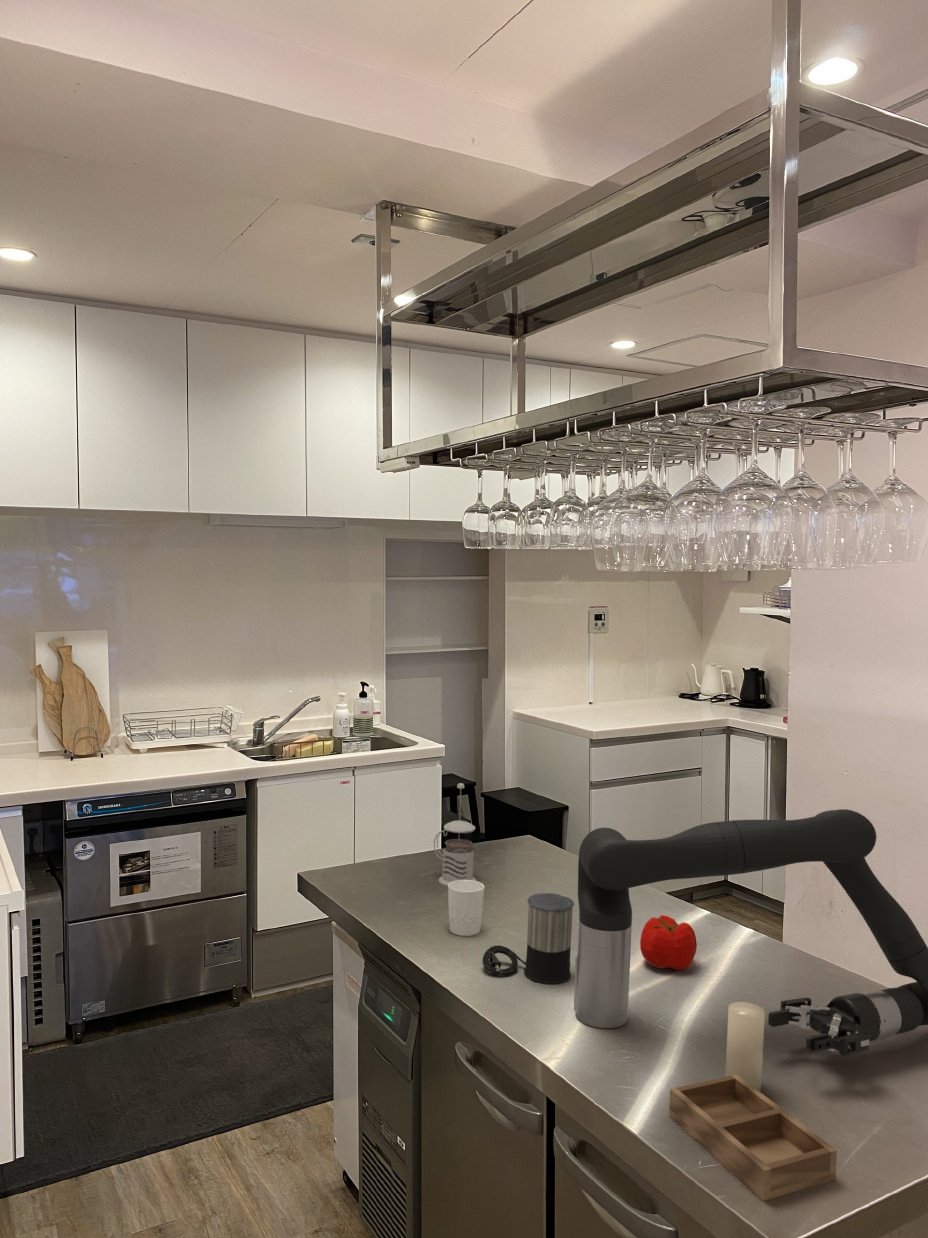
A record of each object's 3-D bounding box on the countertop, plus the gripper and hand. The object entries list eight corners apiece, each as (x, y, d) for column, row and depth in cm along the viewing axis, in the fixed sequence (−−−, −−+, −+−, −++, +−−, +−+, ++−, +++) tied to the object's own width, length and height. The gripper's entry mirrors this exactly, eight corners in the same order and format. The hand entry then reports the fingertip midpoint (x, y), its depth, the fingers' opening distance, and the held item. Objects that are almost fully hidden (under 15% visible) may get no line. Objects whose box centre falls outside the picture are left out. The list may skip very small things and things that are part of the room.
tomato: (627, 960, 193) (629, 917, 193) (671, 950, 199) (673, 908, 199) (663, 981, 184) (665, 935, 184) (708, 969, 190) (710, 925, 190)
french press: (466, 889, 233) (470, 789, 232) (425, 881, 238) (428, 783, 237) (483, 878, 242) (486, 782, 241) (442, 871, 247) (445, 776, 246)
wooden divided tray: (669, 1116, 138) (670, 1089, 138) (735, 1100, 143) (736, 1074, 142) (763, 1201, 119) (764, 1170, 119) (835, 1180, 124) (836, 1150, 124)
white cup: (463, 940, 201) (464, 894, 200) (439, 929, 207) (440, 884, 206) (490, 932, 206) (491, 887, 206) (466, 921, 212) (467, 877, 212)
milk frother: (580, 980, 183) (584, 905, 183) (511, 995, 176) (514, 917, 175) (540, 953, 196) (543, 882, 195) (474, 966, 188) (476, 893, 187)
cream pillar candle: (717, 1079, 148) (721, 1005, 148) (745, 1073, 150) (748, 999, 150) (740, 1097, 143) (744, 1020, 143) (768, 1091, 146) (772, 1015, 145)
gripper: (833, 977, 163) (758, 990, 156) (901, 1013, 150) (823, 1029, 143) (830, 1019, 163) (756, 1034, 157) (898, 1060, 150) (820, 1078, 144)
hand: (788, 1032), depth 150 cm, fingers open, 8 cm apart
